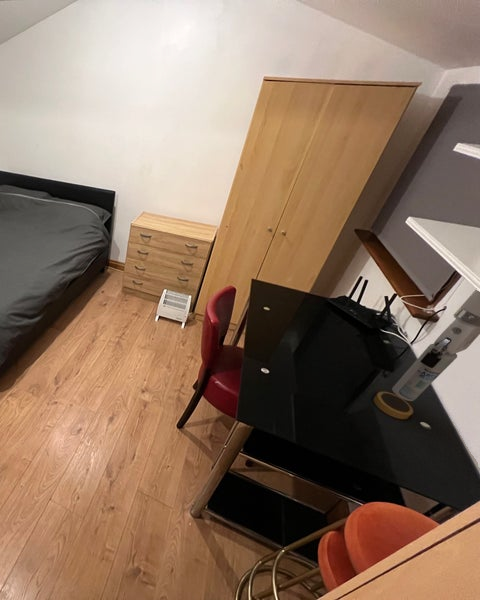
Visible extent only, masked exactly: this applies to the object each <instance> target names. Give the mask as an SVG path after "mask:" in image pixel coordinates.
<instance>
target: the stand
mask: <svg viewBox="0 0 480 600" xmlns="http://www.w3.org/2000/svg"><path fill="white" fill-rule="evenodd" d="M373 403H374V404H375V406H376V407H377V408H378V409H379V410H381V411H382V412H383V413H385V414H386V415H388V416H390V417H393V418H395V419H399V420H407V419H409V417H410V416H411V415H413V413H414V409H413V407H412V405H411V404H410V403H409V402H408V401H407V400H405V399H402V398H401V397H399V396H397V395H396V394H395V393H392V392H388V391H379V392H378V393H376V395H375V396H374V397H373Z"/></svg>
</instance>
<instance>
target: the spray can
mask: <svg viewBox="0 0 480 600" xmlns="http://www.w3.org/2000/svg"><path fill="white" fill-rule="evenodd" d="M434 347H435V346H434V343H430V344H428V346H427V347H426V348H425V349H424V351H423V352H422V353H421V354H420V355H419V356H418V357H417V359H416V360H415V361H414V362H413V363H412V364H411V366H410V367H409V368H408V369H407V370H406V371H405V372H404V373H403V374H402V376H401V377H400V378H399V379H398V381H397V382H396V383H395V384H394V385H393V386H392V388H391V390H392V392H393V394H395V395H397V396H399V397H400V398H402V399H404V400H405V401H407V402H408V401H409V402H412V401H415V400H416V399H417V398H418V397H419V396H420V395H421V394H422V393H423V392H425V390H426V389H428V387H429V386H430V385H431V384H433V382H434V381H436V379H437V378H438V377H440V375H441V374H442V373H443V372H444V371H445V370H446V369H447V368H448V367H449V366H451V364H452V363H453V362H454V361H455V360H456V359H457V358H458V353H455V354H449V352H447V353H446V354H445V355H443V356H442V357H441V360H440V361H439V362H438V363H437V364H436V365H435V367H434V368H430V367H428V366H426V365H425V364H423V363H421V362H420V361H421V360H422V359H423V358H424V357H425V355H426V354H427V353H428V352H429V351H430V350H432V349H433V348H434ZM443 349H445V350H447V348H445V347H444V348H443ZM440 352H441V353H442V352H443V351H442V350H440Z"/></svg>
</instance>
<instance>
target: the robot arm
mask: <svg viewBox="0 0 480 600" xmlns="http://www.w3.org/2000/svg"><path fill="white" fill-rule="evenodd" d="M453 318H455V319H454V320H453V321H452V322H451V323H450V324H448V326H447V327H446V328H445V329H444V330H443V331H442V332H441V333H440V334H439V336H438V337H437V338H436V339H435V341H434V342H433V344H434V346H435V347H434V348H433V349H432V350H430V351H429V352H428V353H427V354H426V355H425V357H424V358H423V359H422V360H421V361H420V362H421V363H423V364H425V365H426V366H428V367H430V368H434V367H435V365H436V364H437V363H438V362H439V361H440V360H441V357H442V356H443V355H445V354H446V353H447V352H449V354H455V353H456V354H458V353H460V352H463V351H465V350H467V349H468V348H469V347H470V346H471V345H472V344H473V342H474V341H475V340H476V339H477V338H478V337H479V336H480V292H479V291H477V290H476V289H475V290H474V291H473V292H472V293H471V294H470V296H469V297H468V298H467V299H466V300H465V301H464V302H463V303H462V305H460V306H459V308H458V309H457V310H456V311H455V312H454V313H453ZM444 347H445V348H447V350H445V349H443V348H444ZM440 350H442V351H443V352H442V353H441V352H440Z"/></svg>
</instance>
